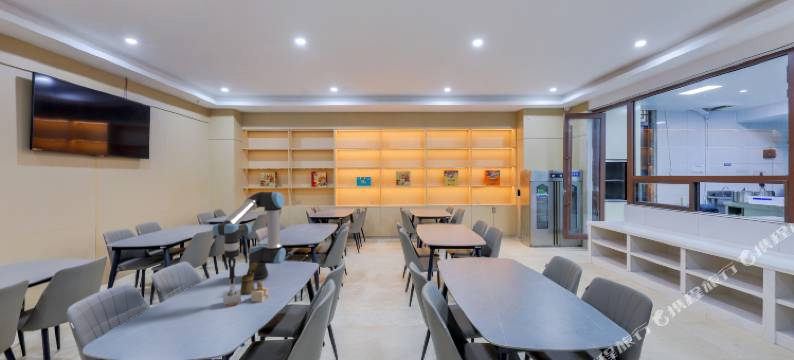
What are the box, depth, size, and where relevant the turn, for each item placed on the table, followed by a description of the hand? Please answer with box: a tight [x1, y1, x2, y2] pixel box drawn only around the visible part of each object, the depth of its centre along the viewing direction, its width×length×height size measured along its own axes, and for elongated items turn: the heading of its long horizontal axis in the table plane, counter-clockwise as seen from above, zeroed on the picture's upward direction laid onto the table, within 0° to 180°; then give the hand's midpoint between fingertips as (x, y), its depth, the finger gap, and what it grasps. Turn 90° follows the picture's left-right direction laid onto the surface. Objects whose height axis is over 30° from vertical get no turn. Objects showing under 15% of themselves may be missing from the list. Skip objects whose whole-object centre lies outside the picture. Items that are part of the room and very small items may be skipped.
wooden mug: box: [239, 262, 258, 296], centre depth 202 cm, size 9×14×18 cm, turn 170°
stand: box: [250, 280, 269, 303], centre depth 189 cm, size 7×7×11 cm
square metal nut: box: [222, 289, 242, 306], centre depth 182 cm, size 9×9×4 cm
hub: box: [224, 289, 240, 307], centre depth 182 cm, size 7×7×8 cm
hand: (232, 288), depth 183 cm, fingers closed
